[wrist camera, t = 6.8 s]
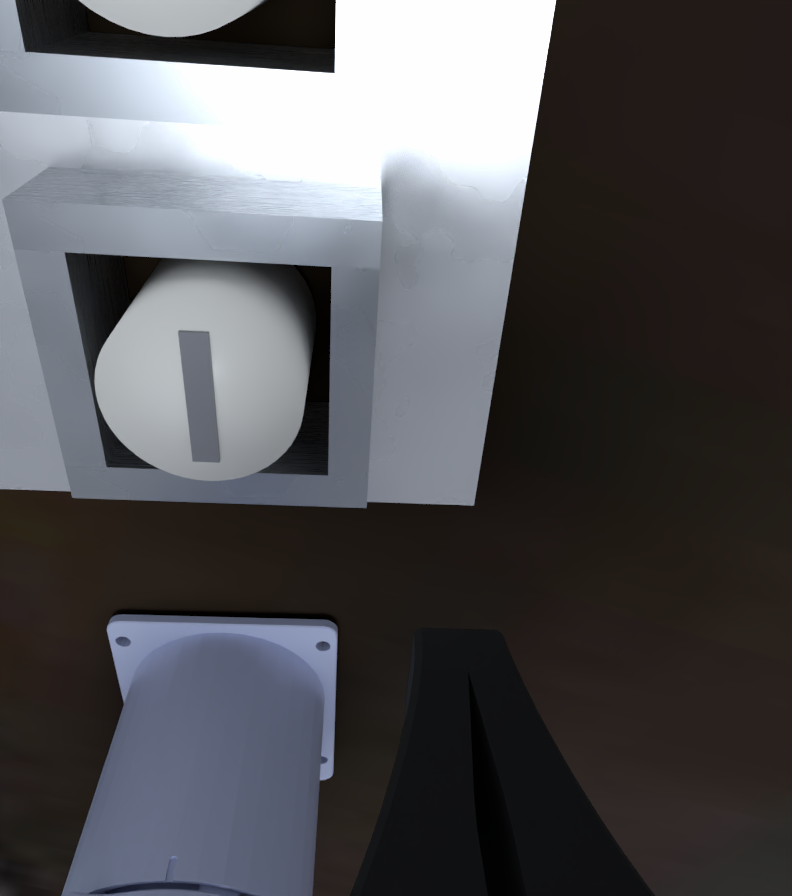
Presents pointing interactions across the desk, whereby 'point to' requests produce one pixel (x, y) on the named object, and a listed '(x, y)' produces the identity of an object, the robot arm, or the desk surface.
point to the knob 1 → (172, 14)
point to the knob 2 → (210, 367)
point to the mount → (270, 229)
